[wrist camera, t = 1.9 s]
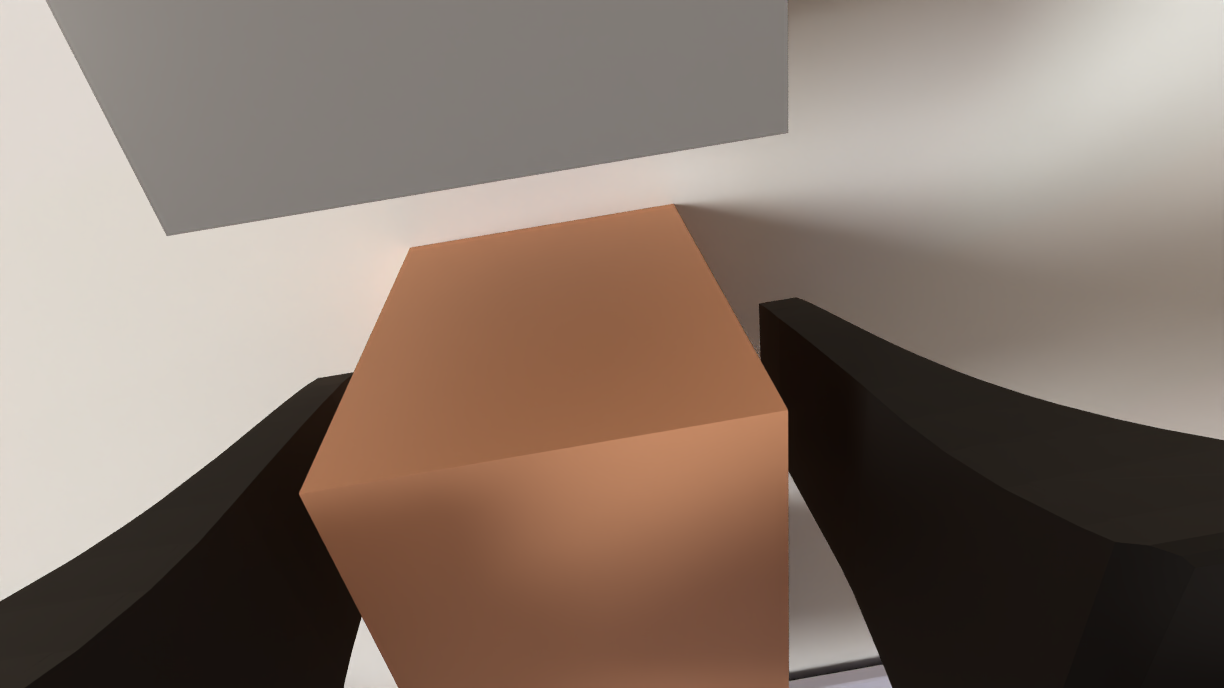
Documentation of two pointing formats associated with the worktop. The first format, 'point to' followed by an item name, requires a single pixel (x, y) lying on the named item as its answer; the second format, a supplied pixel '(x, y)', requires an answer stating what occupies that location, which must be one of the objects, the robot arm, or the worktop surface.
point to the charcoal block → (412, 92)
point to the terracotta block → (562, 468)
